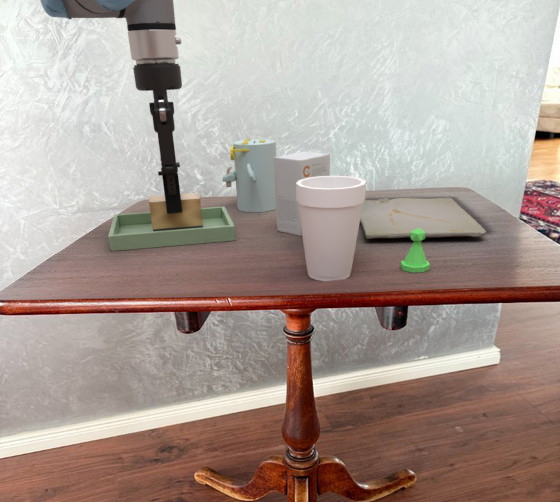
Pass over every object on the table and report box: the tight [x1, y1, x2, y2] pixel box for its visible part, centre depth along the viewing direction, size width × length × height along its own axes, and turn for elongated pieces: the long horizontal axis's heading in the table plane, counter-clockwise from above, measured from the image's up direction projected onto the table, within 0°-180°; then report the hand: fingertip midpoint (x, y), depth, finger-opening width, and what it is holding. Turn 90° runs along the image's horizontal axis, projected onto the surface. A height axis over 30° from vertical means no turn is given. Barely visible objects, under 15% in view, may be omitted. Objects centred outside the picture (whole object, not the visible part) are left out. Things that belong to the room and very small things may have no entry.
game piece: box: [400, 228, 431, 274], centre depth 80 cm, size 4×4×6 cm
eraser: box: [148, 192, 203, 231], centre depth 100 cm, size 9×5×6 cm, turn 101°
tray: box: [107, 206, 237, 252], centre depth 101 cm, size 22×16×3 cm
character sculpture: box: [221, 138, 277, 213], centre depth 114 cm, size 20×12×13 cm, turn 179°
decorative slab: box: [360, 197, 487, 240], centre depth 103 cm, size 27×21×2 cm
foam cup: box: [296, 175, 367, 282], centre depth 77 cm, size 10×9×13 cm
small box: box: [274, 151, 331, 237], centre depth 98 cm, size 8×6×13 cm
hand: (174, 208), depth 99 cm, fingers closed on eraser, 5 cm apart
